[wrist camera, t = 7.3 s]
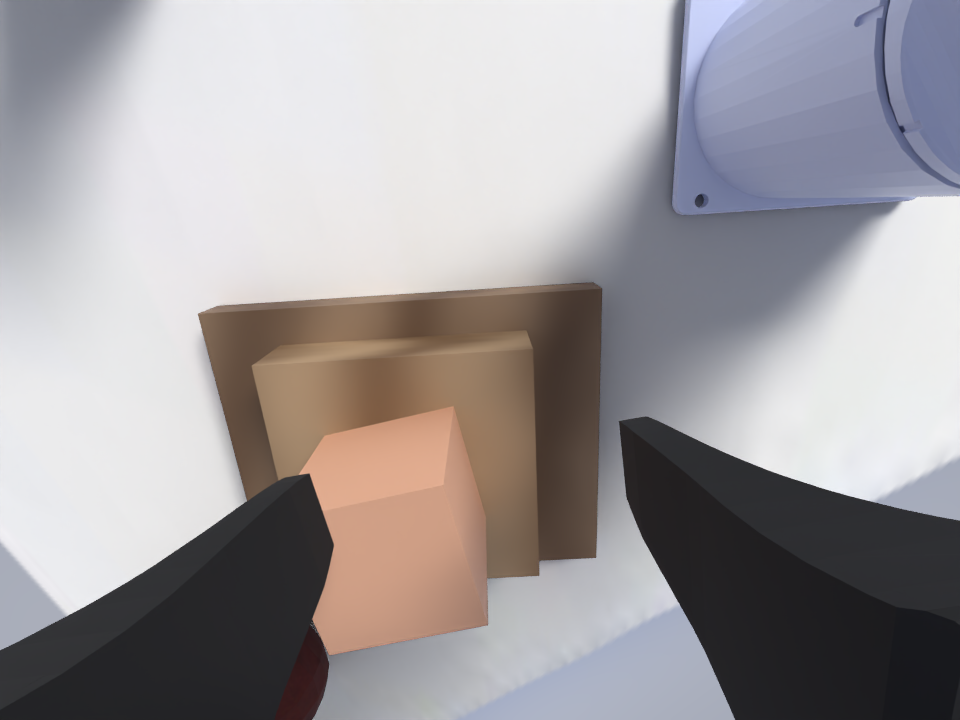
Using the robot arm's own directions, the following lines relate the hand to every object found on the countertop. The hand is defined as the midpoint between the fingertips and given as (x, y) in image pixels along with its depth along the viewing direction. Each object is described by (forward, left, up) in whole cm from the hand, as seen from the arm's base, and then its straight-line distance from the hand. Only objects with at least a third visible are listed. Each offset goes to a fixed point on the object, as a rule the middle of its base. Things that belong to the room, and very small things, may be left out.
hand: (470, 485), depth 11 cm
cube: (+3, +4, -6) cm, 8 cm away
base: (+3, +4, -10) cm, 11 cm away
